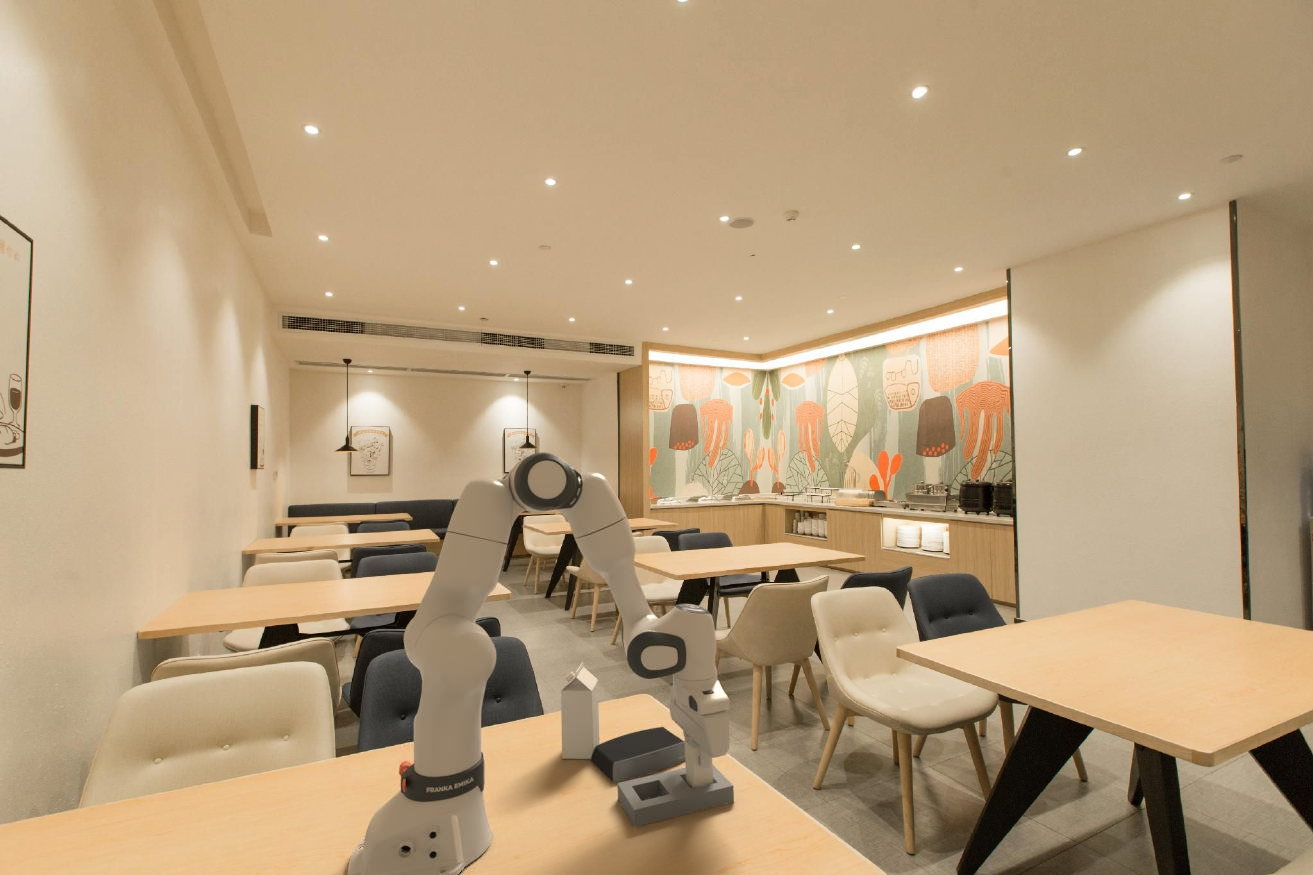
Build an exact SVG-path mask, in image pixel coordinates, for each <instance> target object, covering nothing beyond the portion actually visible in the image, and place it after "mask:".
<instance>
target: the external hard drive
mask: <svg viewBox="0 0 1313 875" xmlns="http://www.w3.org/2000/svg"><path fill="white" fill-rule="evenodd" d="M590 761H591V762H592V763H593V765H594V766H596V767H597V769H599V770H600V771H601V772H602V773H603V775H604V776H605V777H606V778H607V779H608V780H610V781H611V783H613V784H618V783H620V782H625V781H629V780H633V779H637V778H641V777H643V776H646V775H649V774H652V773H655V772H659V771H661V770H664V769H667V768H670V767H673V766H676V765H678V764H680V763H684V762H685V743H684V740H683V739H682V738H680V737H678V736H677V735H676V734H674V733H672V732H671V731H669V730H668V729H667V728H665V727H664V726H657V727H653V728H648V729H642V730H639V731H638V730H637V731H634V732H633V731H632V732H630V733H627V734H623V735H620V736H617V737H613V738H611V739H608V740H605V741H604V742H602V743H601V742H600V743H599V745H597V746H596V747H595V748H594V751H593V753H592V756H591V759H590Z"/></svg>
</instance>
